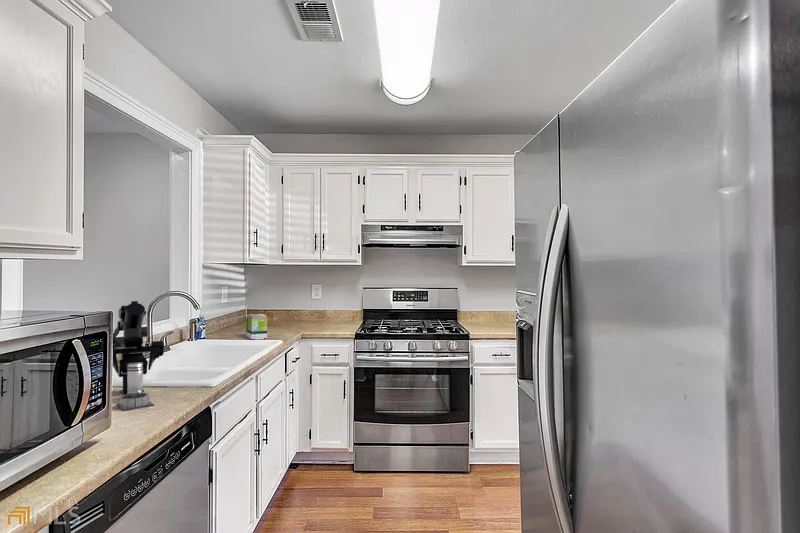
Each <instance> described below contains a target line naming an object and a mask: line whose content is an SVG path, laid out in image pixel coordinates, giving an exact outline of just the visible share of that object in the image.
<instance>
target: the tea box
mask: <svg viewBox="0 0 800 533" xmlns="http://www.w3.org/2000/svg"><path fill="white" fill-rule="evenodd" d="M245 328H246V329H245V330H246V332H245V333H246V334H245V336H246V338H248V339H250V340H252V339H255V340H265V339H264V338H267V339H268V314H267V315H266V314H264V313H263V314H262V313H250V314H246V327H245Z"/></svg>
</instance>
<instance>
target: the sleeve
mask: <svg viewBox="0 0 800 533" xmlns="http://www.w3.org/2000/svg"><path fill="white" fill-rule="evenodd" d="M119 400H120V401H119V402H118V403H116V407H118V408H119V409H121V410H122V411H123V412H125V411H131V410H132V411H133V410H137V409H141V408H148V407H153V406H155V404H154V403H153V402H151V401H150V393H148V392H143V397H140V398H132V399H127V394H126V395H124V394H122V395H121V396H120V398H119Z"/></svg>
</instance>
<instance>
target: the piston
mask: <svg viewBox="0 0 800 533" xmlns="http://www.w3.org/2000/svg"><path fill="white" fill-rule="evenodd" d="M143 384H144V374H143V363H141V362H136V363H129V364H127V399H132V398H140V397H143V393H144V392H143V390H144V385H143Z"/></svg>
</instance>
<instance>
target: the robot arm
mask: <svg viewBox="0 0 800 533" xmlns="http://www.w3.org/2000/svg"><path fill="white" fill-rule="evenodd" d="M138 302H139V301H138V300H131V301H130V303H129V304H128V305H121V306H120V308H118V319H119V320H118V321H117V325H116V326H117V327H116V328H115V329H114V331H113V332H114V333H113V332H112V333H113V366H112V368H113V369H114V370H115V372H116V374H117V376H118V378H122V389H119V391H118V392H120V393H121V394H122V395H126V394H127V364H129V363H136V362H141V363H143V375H146V374H148V371H150V370H151V368H152V366H153V364H154V362H155V361H156V359H158V358H160V357H162V356H164V353H165V352H164V350H165V349H164V348H165V343H164V341H162V340H154V341H151V342H150V345H143V344H144V338H147V337H148V336H149V330H148V328H149V327H148V326H143V325H142V324H143V322H144V317H145V315H147V311H146V308H145V306H144V305H143V304H142V303H138ZM121 331H122V332H123V336H118V335H119V333H121ZM144 353H149V357H148V358H149V359H148V360H147V357H145V355H144ZM117 355H120V359H119V360H118V356H117ZM143 393H145V389H143Z"/></svg>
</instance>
